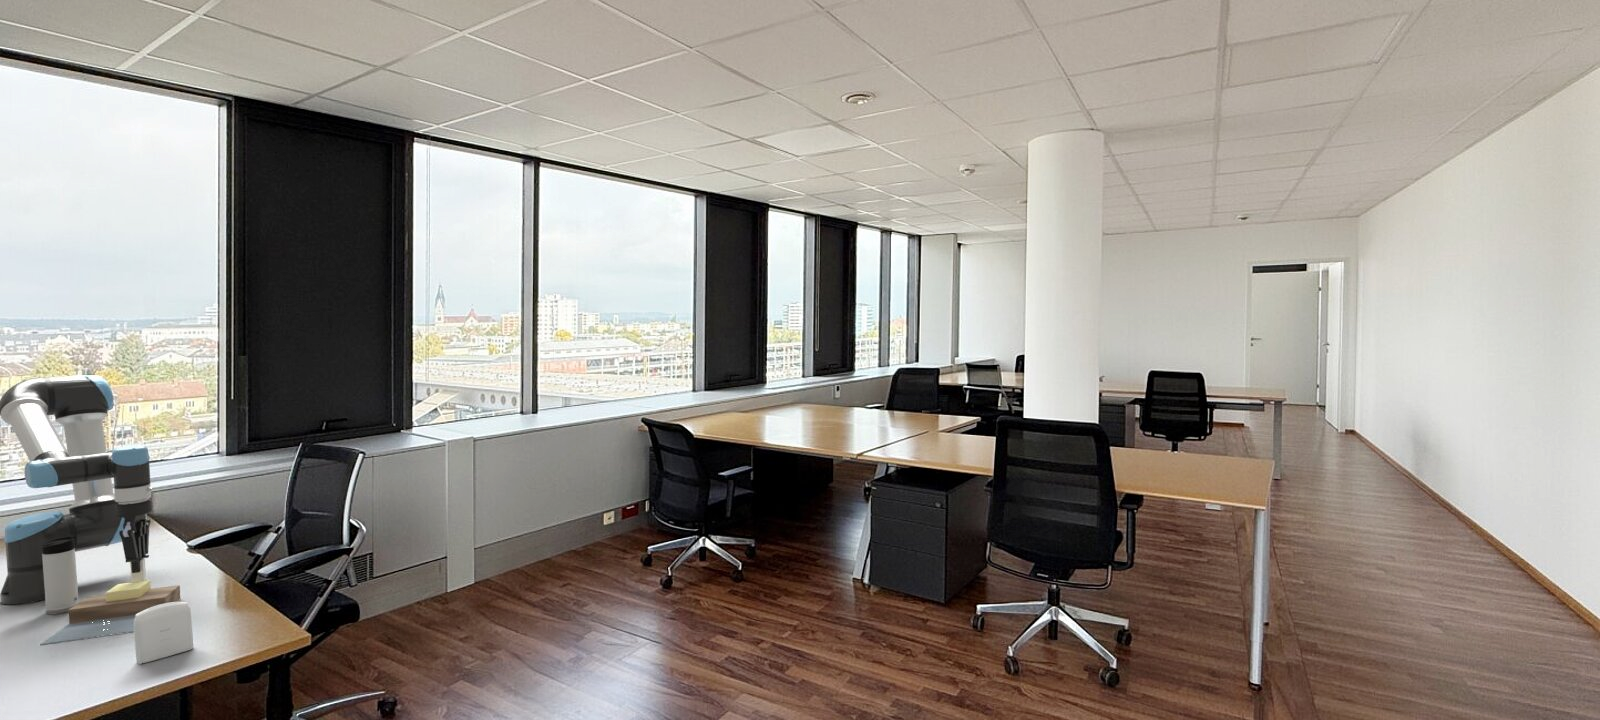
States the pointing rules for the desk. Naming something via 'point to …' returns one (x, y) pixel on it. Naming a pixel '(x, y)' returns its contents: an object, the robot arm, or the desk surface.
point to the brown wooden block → (121, 605)
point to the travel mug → (60, 575)
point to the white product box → (162, 631)
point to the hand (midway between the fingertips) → (139, 582)
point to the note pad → (128, 590)
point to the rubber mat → (92, 629)
